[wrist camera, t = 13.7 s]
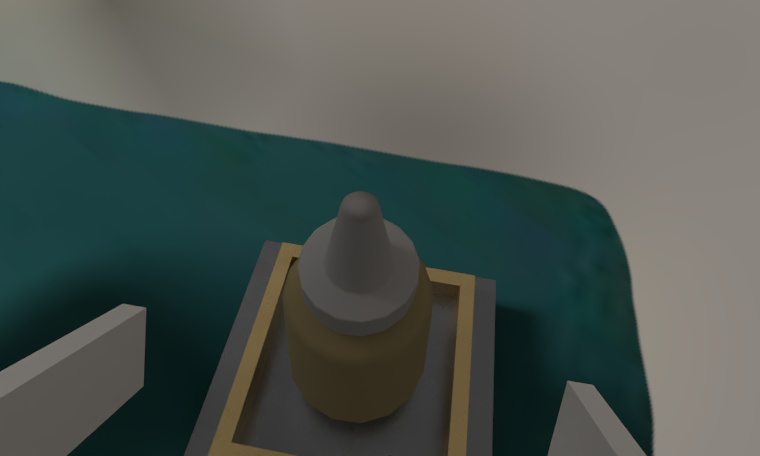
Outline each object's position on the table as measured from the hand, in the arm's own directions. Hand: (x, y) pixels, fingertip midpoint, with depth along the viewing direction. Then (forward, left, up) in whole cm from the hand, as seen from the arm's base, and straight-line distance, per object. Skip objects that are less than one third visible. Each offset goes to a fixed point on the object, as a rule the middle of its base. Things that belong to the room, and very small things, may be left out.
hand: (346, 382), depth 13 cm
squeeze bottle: (-1, +4, -15) cm, 16 cm away
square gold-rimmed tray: (0, +4, -19) cm, 19 cm away
